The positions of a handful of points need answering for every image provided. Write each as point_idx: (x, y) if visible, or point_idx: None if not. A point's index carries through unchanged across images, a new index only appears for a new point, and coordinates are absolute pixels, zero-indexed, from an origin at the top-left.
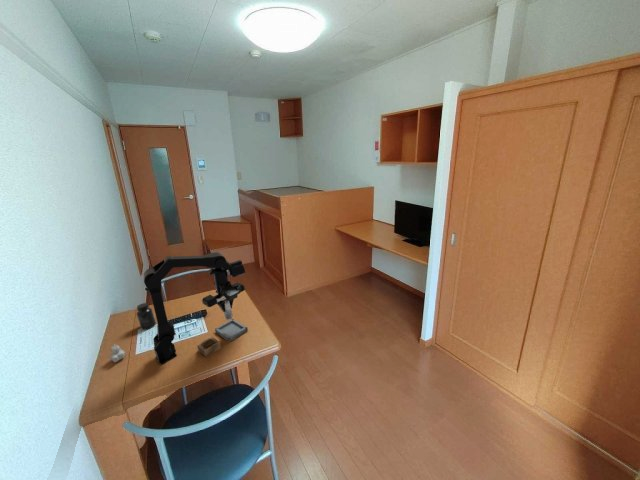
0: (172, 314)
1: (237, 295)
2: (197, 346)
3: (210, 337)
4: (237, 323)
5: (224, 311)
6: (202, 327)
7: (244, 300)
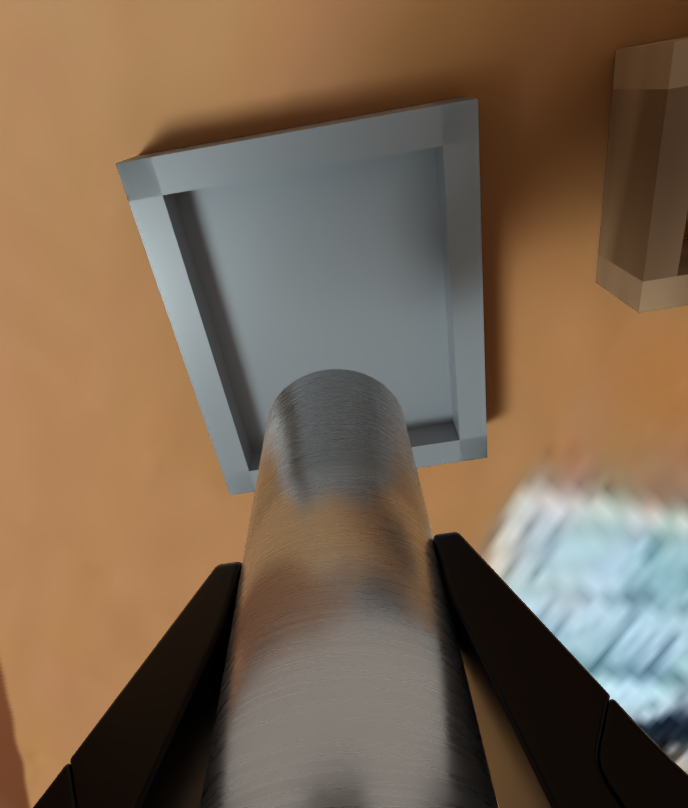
0: None
1: None
2: None
3: (664, 301)
4: (216, 368)
5: (453, 546)
6: (518, 573)
7: (21, 691)
